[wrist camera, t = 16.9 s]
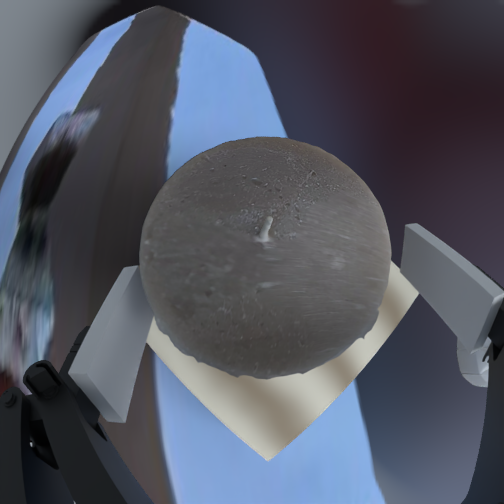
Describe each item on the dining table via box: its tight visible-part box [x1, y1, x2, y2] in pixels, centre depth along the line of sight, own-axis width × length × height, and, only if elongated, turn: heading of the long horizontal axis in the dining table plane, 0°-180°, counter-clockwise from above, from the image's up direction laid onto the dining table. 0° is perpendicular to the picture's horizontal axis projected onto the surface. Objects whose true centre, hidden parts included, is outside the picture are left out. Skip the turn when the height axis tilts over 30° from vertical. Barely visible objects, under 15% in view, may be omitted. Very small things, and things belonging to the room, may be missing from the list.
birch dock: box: [138, 261, 419, 461], centre depth 26 cm, size 20×20×6 cm
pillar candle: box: [139, 137, 391, 380], centre depth 16 cm, size 10×10×15 cm
